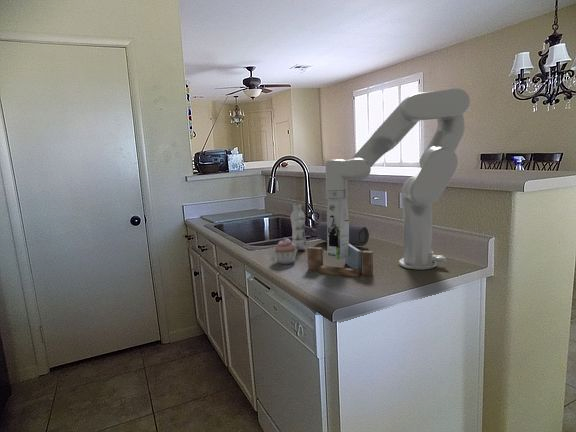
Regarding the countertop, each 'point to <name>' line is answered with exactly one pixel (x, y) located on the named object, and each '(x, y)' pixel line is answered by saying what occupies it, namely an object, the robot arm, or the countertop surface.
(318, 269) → the door frame
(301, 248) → the plastic bottle
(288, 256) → the cupcake
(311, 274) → the countertop surface
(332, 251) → the syrup box
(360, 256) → the door
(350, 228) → the bluetooth speaker
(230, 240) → the countertop surface
